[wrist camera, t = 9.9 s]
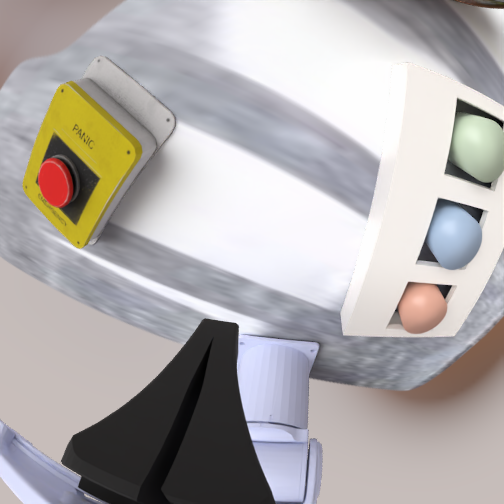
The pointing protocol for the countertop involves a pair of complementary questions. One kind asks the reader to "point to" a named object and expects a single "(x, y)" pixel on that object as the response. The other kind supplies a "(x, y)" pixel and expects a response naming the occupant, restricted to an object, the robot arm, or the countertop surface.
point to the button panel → (420, 209)
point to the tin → (485, 3)
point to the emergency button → (93, 149)
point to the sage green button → (477, 146)
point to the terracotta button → (421, 307)
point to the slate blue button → (453, 235)
